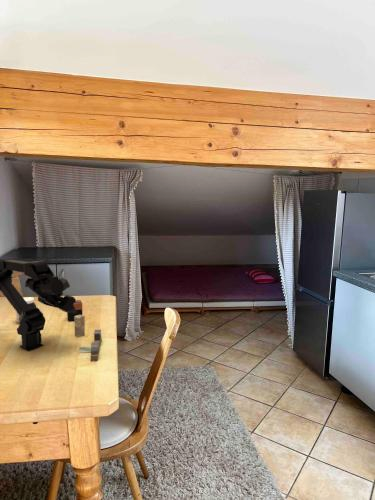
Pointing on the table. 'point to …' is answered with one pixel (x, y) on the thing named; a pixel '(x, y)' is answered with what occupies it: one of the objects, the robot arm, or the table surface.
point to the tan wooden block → (79, 325)
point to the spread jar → (30, 303)
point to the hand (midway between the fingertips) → (69, 310)
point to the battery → (78, 308)
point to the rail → (93, 346)
